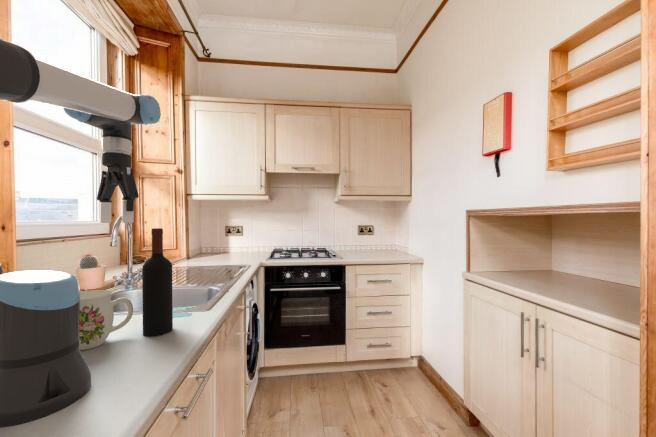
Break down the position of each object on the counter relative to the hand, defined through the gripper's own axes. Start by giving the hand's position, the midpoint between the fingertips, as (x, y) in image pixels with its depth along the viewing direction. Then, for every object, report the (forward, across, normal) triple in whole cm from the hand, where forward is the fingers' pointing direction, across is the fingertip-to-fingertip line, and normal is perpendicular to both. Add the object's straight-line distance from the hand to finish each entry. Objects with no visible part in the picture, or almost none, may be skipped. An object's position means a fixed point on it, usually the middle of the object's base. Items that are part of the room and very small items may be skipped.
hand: (116, 222), depth 94 cm
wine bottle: (+32, -16, -4) cm, 36 cm away
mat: (+31, -6, -20) cm, 38 cm away
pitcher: (+32, -9, +10) cm, 35 cm away
